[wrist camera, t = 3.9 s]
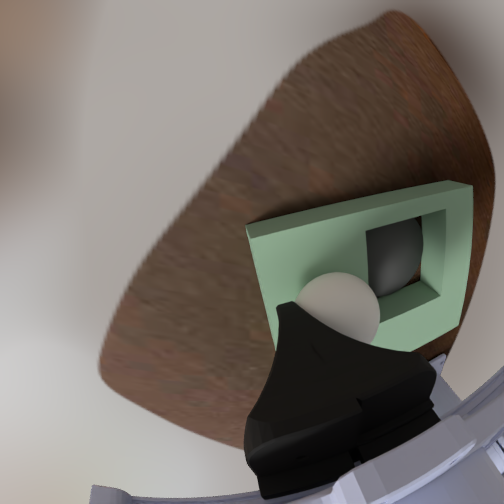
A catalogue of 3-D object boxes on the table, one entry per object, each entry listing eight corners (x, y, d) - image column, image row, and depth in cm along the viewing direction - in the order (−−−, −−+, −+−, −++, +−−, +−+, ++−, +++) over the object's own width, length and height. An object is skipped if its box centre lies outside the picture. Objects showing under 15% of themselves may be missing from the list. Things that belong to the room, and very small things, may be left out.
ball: (340, 318, 14) (396, 343, 11) (283, 354, 13) (337, 393, 9) (331, 253, 13) (396, 267, 10) (266, 284, 12) (328, 314, 8)
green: (440, 310, 18) (458, 325, 16) (281, 372, 18) (288, 397, 16) (447, 180, 15) (472, 185, 12) (245, 225, 14) (250, 238, 12)
